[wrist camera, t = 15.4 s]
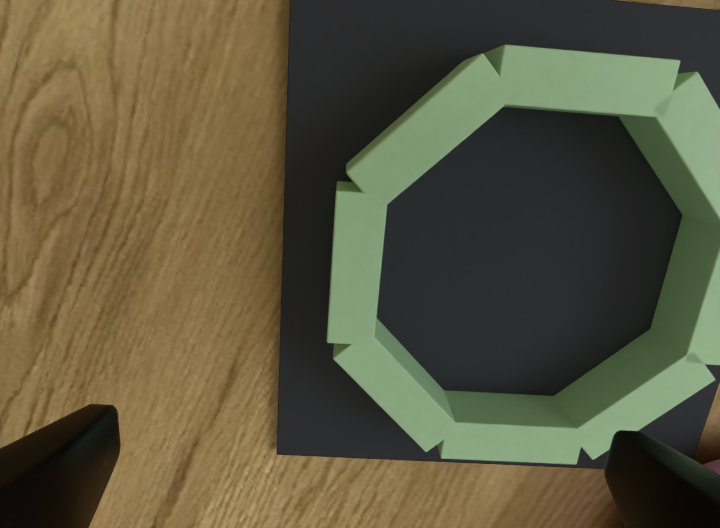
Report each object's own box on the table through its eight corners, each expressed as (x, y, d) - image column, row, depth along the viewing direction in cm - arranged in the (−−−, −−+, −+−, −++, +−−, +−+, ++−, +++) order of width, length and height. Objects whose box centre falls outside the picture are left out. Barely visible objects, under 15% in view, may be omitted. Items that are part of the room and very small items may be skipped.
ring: (322, 417, 22) (319, 453, 20) (345, 40, 17) (345, 30, 15) (657, 434, 23) (691, 470, 21) (768, 77, 18) (829, 73, 16)
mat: (277, 449, 23) (276, 454, 23) (291, -28, 17) (290, -31, 17) (683, 467, 24) (688, 473, 24) (833, 23, 18) (844, 21, 18)
